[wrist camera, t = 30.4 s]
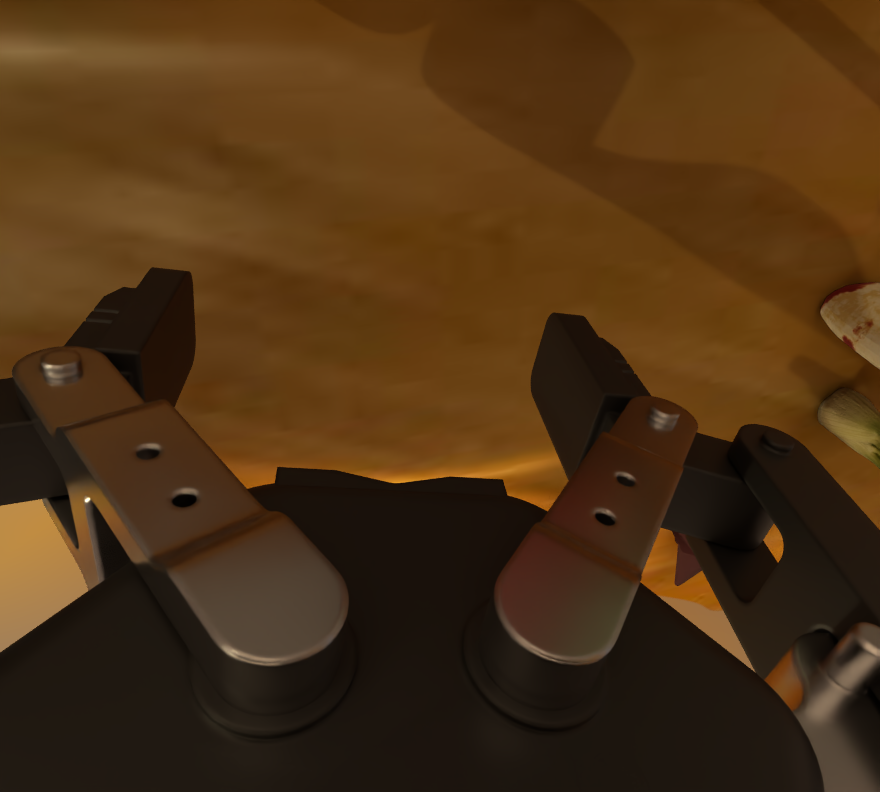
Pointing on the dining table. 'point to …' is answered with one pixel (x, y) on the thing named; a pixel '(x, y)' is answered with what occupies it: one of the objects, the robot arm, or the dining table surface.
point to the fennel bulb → (853, 422)
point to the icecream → (685, 560)
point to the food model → (856, 318)
